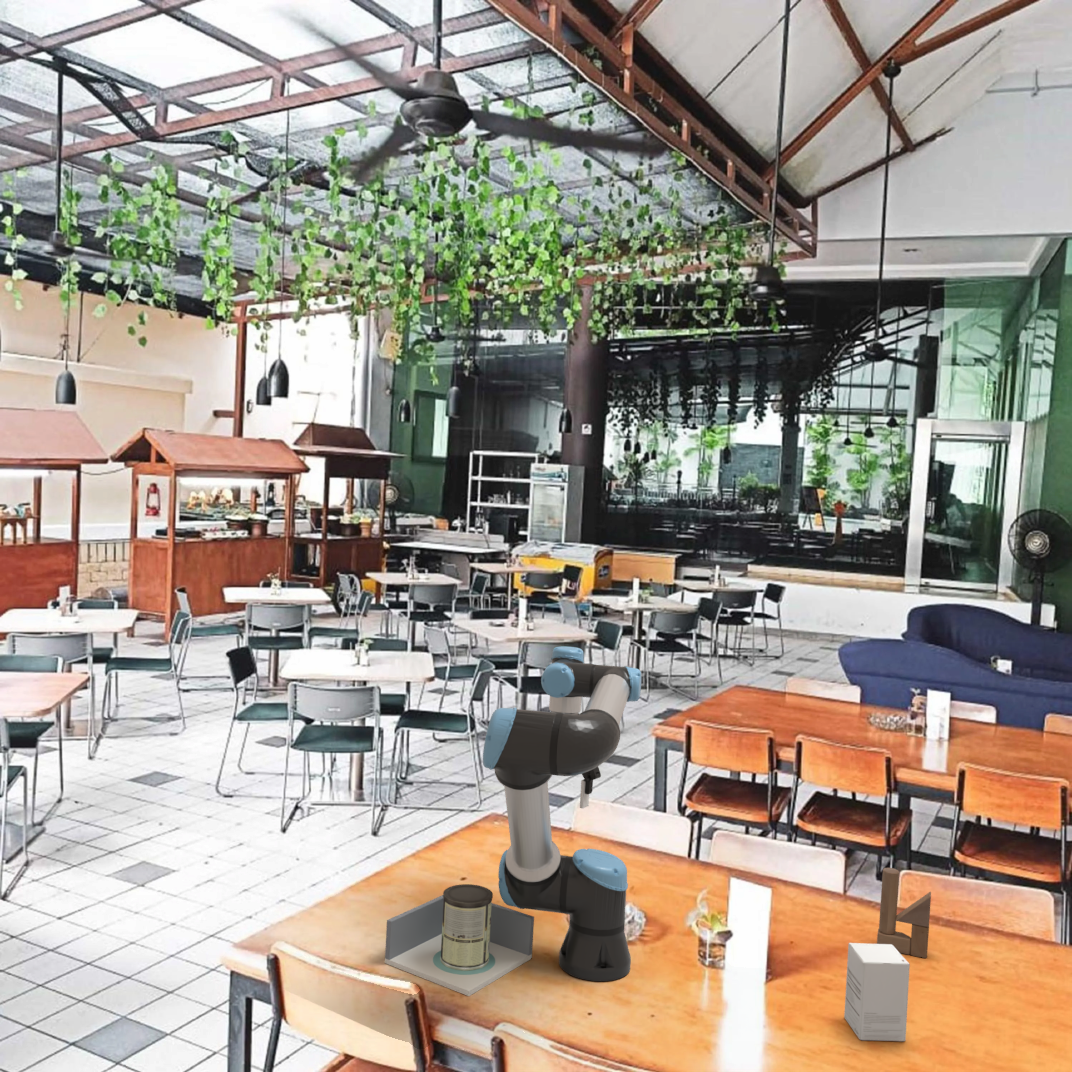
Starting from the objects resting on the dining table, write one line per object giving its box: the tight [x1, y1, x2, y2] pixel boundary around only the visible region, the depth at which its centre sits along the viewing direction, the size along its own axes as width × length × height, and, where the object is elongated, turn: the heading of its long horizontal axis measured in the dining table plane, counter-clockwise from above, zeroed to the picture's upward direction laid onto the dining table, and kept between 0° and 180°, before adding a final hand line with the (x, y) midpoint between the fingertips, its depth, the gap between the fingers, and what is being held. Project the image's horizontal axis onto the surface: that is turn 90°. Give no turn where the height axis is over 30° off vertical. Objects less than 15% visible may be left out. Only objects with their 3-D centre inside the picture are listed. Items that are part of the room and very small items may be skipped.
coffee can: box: [440, 883, 494, 971], centre depth 211 cm, size 10×10×14 cm
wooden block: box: [876, 867, 932, 959], centre depth 231 cm, size 4×11×18 cm, turn 68°
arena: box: [384, 894, 535, 997], centre depth 213 cm, size 22×22×9 cm
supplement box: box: [843, 942, 911, 1042], centre depth 194 cm, size 9×9×15 cm
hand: (559, 801), depth 241 cm, fingers open, 13 cm apart
